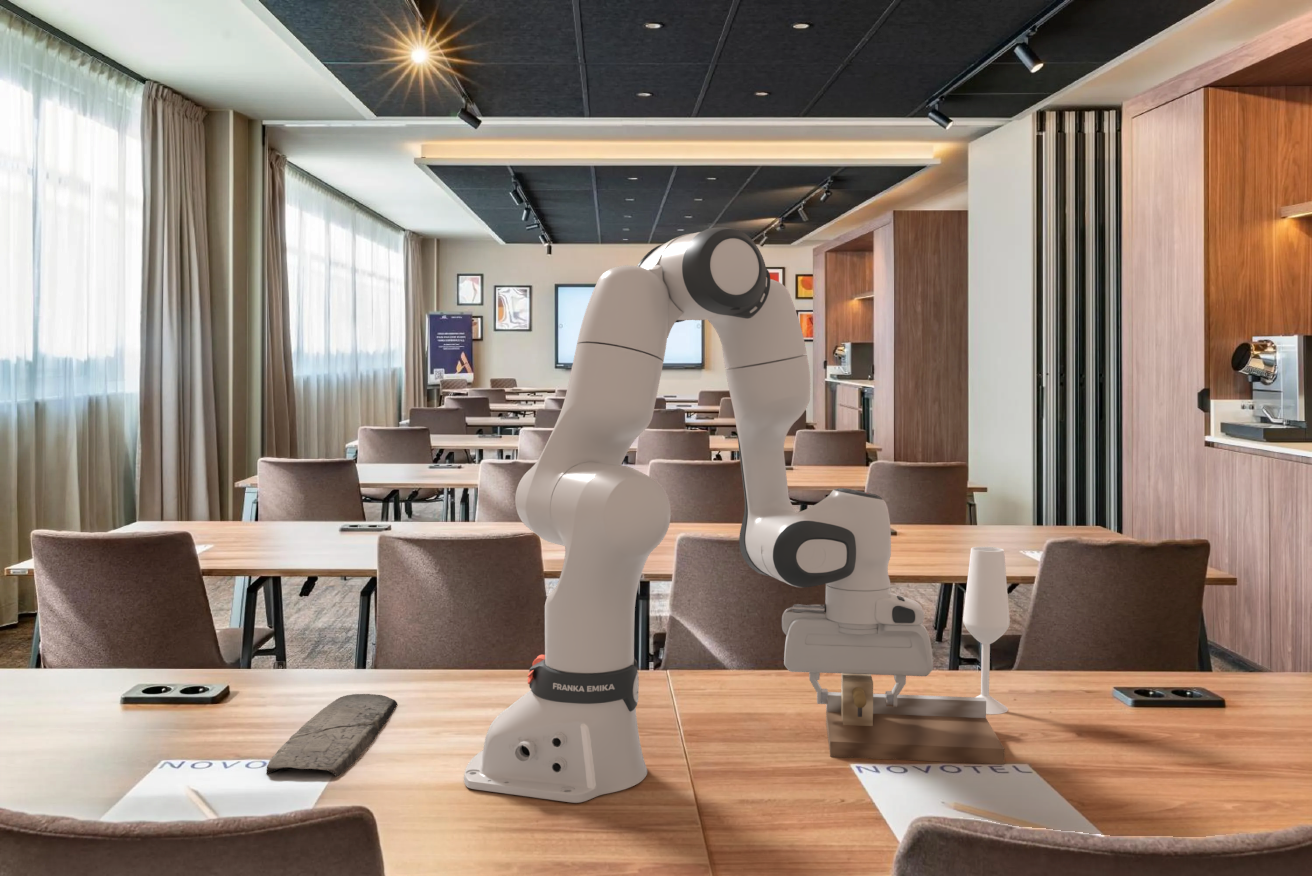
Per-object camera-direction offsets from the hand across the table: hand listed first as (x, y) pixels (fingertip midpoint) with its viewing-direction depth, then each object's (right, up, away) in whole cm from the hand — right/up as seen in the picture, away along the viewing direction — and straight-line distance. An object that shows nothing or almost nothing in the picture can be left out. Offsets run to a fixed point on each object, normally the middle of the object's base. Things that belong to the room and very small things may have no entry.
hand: (856, 704), depth 144 cm
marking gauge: (0, -2, -2) cm, 3 cm away
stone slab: (-72, -5, -1) cm, 72 cm away
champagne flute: (+22, -4, +12) cm, 25 cm away
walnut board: (+7, -4, -3) cm, 8 cm away
